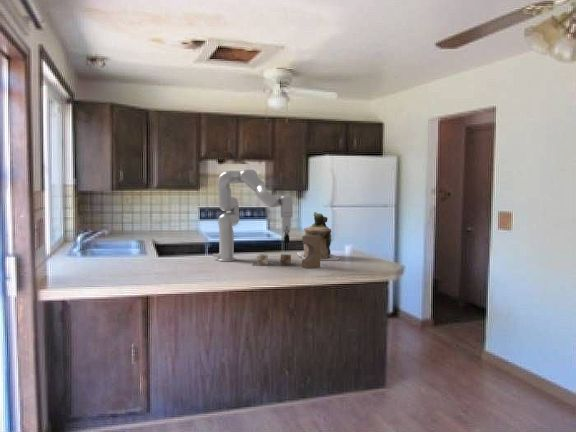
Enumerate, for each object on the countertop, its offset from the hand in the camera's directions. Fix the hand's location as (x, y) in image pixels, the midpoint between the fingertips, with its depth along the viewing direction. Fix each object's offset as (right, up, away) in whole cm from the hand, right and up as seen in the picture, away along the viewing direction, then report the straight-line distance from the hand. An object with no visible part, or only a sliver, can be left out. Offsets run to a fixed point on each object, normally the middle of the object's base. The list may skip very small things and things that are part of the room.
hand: (286, 241), depth 316 cm
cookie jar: (+21, -13, +29) cm, 39 cm away
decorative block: (+15, -16, -5) cm, 23 cm away
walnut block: (-1, -15, +1) cm, 15 cm away
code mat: (-8, -15, +1) cm, 17 cm away
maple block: (-16, -15, +1) cm, 21 cm away
